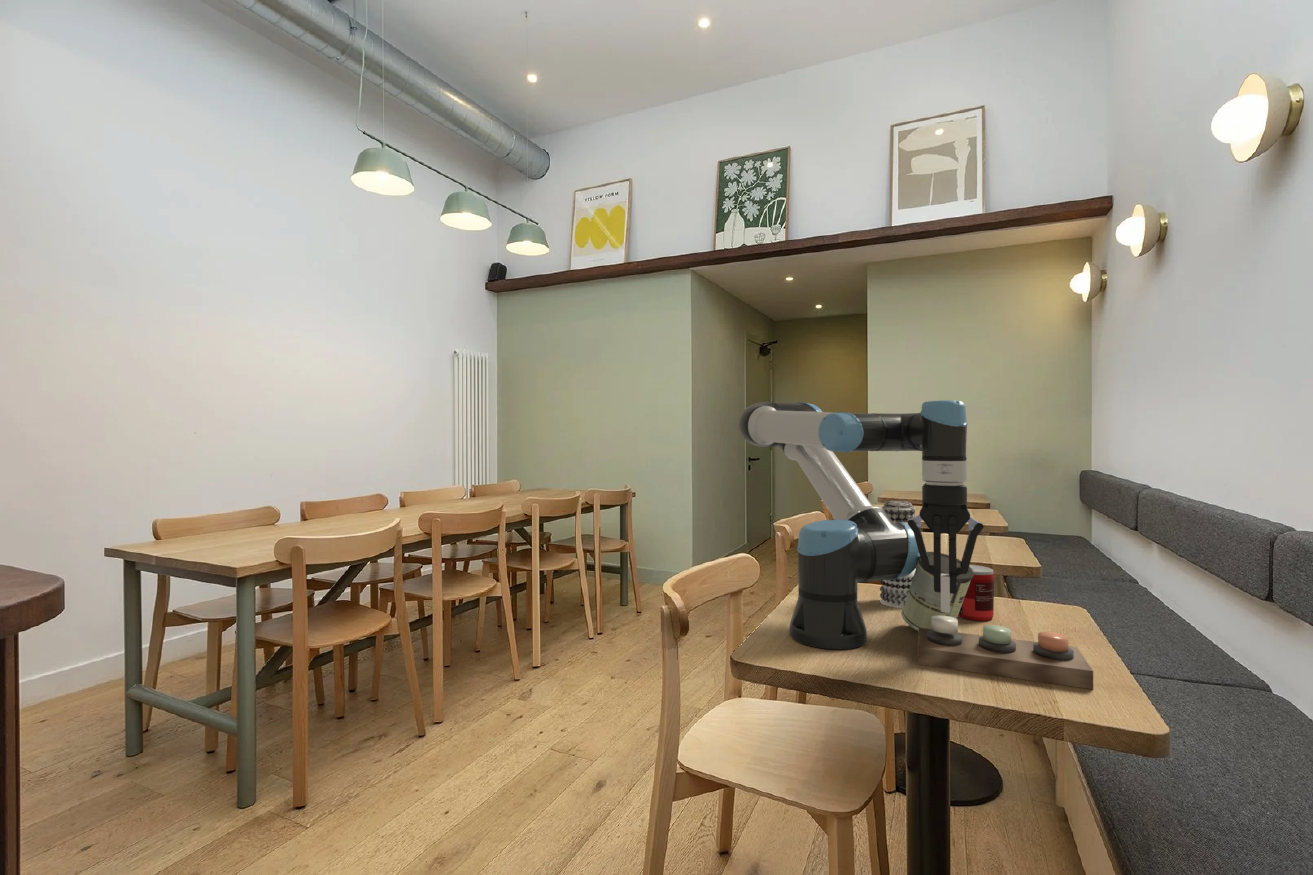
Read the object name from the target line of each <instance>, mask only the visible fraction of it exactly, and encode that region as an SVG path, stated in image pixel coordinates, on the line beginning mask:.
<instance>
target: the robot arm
mask: <svg viewBox="0 0 1313 875" xmlns="http://www.w3.org/2000/svg"><path fill="white" fill-rule="evenodd" d="M966 409H967V408H966V405H965V403H964V402H963V401H961V400H954V399H953V400H951V399H947V400H946V399H945V400H942V399H941V400H928V401H924V402H923V403H922V404H921V410H920V412H915V413H914V412H910V413H888V412H887V413H882V412H881V413H878V412H877V413H870V412H869V413H867V412H866V413H865V412H864V413H863V412H861V413H860V412H845V411H844V412H843V411H842V412H841V411H840V412H835V411H834V412H833V411H831V412H829V411H822V409H820V407H819V406H817V405H816V404H812V403H808V402H802V401H798V402H779V401H778V402H777V401H775V402H774V401H770V402H769V401H768V402H767V401H762V402H756V403H752V404H751V405H749V406H747V407H746V408H744V409H743V411H742V412H741V413H740V416H739V417H738V423H737V424H738V425H737V426H738V432H739V434H740V436H741V437H742V439H743V440H744V441H745V442H747V444H750V445H753V446H756V447H759V448H760V447H761V448H764V447H765V448H766V447H767V448H781V450H782V452H783V453H784V454H785V457H787V459H788V460H791V461H796V462H797V464H798V465H799V466H800V468H801V470H802V472H803V473H804V474H805V476H806V477H807V479H808V480H809V482H810V483H811V485H812V487H813V488H814V490H815V491H816V492H817V494H818V496H819V497H820V499H821V500H822V502H823V503H824V505H825V506H826V508H827V510H828V511H829V512H830V514H831V516H832V517H833V519H830V520H829V519H824V520H817V521H812V522H810V523H807V524H805V525H804V526H802V527H801V528H800V531H798V538H797V539H798V541H797V547H796V550H797V553H798V554H797V559H798V560H797V564H798V568H797V571H798V575H797V576H798V578H797V580H798V582H797V586H798V589H797V590H798V596H797V601H796V603H795V607H794V610H793V613H792V616H791V619H790V622H789V635H790V637H791V638H792V639H793V640H795V641H796V642H798V643H801V644H803V645H805V646H809V647H814V648H820V649H826V650H850V649H855V648H859V647H861V646H862V647H863V646H864V645H865V644H866V643H867V641H868V640H867V639H868V634H867V633H868V631H867V627H866V626H867V625H866V624H865V621H864V618H863V615H862V612H861V608H860V605H859V601H858V584H859V583H860V584H861V583H868V582H869V583H870V582H878V581H879V582H880V581H881V580H888V579H889V580H895V579H897V578H901V577H905V576H907V575H909V574H911V573H912V572H913V571H914V569H916V567H917V564H918V561H919V556H920V558H921V562H922V566H923V569H924V570H925V571H928V572H931V573H932V574H933V576H934V591H935V592H940V593H941V612H948V613H950V593H951V594H956V592H957V576H958V575H961V574H966V573H967V572H968V568H969V565H971V560H972V556H973V554H974V550H975V546H976V543H977V538H978V536H979V534H980V533H981V532H982V531H983V529H984V526H985V525H984V524H983V522H981V521H978V520H976V519H975V518H973V517H972V516H971V513H970V511H969V508H968V486H966V485H965V484H964V483H966V482H967V481H968V479H967V478H968V465H967V464H968V462H967V461H968V460H967V459H968V458H967V436H968V435H967V433H968V432H967V431H968V421H967V420H968V418H967V410H966ZM905 451H906V452H921V476H922V479H921V480H922V482H925V483H923V485H922V487H921V492H922V493H921V496H922V499H921V503H922V504H921V505H922V506H921V507H920V508H921V509H920V510H919V514H918V515H915V517H914V518H910V519H909V520H908V525H909V526H908V525H907V524H904V523H900V522H896V523H894V522H893V521H892V520H891V518H890V517H889V516H888V515H887V513H886V512H885V511H884V510H883V509H882V508H881V507H880V506H879V507H878V506H873V505H872V503H871V501H869V499H868V497H867V496H866V494H864V492H863V491H862V489H861V488H860V487H859V486H858V484H857V483H856V481H855V480H854V478H853V477H852V476H851V474H850V473H849V472H848V470H847V469H846V467H845V466H844V465H843V463H842V462H841V461H840V460H839V458H838V457H837V455H836V454H835V453H834V452H837V453H849V452H850V453H851V452H905ZM922 521H923V522H924V523H925V525H926V526H927V527H928V529H929V530H930V531H931V532H932V533H933V552H934V565H931V564H930V563H929V559H928V555H927V552H928V551H927V549H926V545H925V541H924V536H923V532H922V530H921V527H922V524H923V523H922ZM967 523H968V525H967V528H968V530H969V533H968V536H967V539H966V542H965V546H964V551H963V554H962V558H961V560H960V561H961V564H960V566H959V567H957V562H956V558H957V534H959V533H960V531H961V530H962V529H963V528H964V526H966V524H967ZM942 534H947V535H948V555H949V574H941V553H942V549H941V548H942V546H941V545H942V542H941V540H942V538H941V537H942V536H941V535H942Z"/></svg>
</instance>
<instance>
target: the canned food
mask: <svg viewBox="0 0 1313 875" xmlns="http://www.w3.org/2000/svg"><path fill="white" fill-rule="evenodd" d="M969 567H970V568H971V569H972V570H973V573H974V576H973V578H972V579H971V581H970V584H969V587H968V589H967V592H966V595H965V598H964V600H963V603H962V606H961V608H960V611H959V614H958V617H959V618H962V619H965V620H969V621H975V622H989V621H992V620H993V618H994V614H995V613H994V612H995V611H994V610H995V609H994V604H995V601H994V597H995V595H994V592H995V588H994V587H995V583H994V582H995V581H994V578H995V577H994V575H995V573H994V570H993V569H992V567H991V568H990V567H987V566H984V565H983V566H982V565H978V564H977V565H975V564H970V565H969Z"/></svg>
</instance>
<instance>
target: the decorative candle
mask: <svg viewBox="0 0 1313 875" xmlns="http://www.w3.org/2000/svg"><path fill="white" fill-rule="evenodd" d="M880 508H882V509H883V510H884V511H885V512H886V513H887V515H888V516H889V517H890V518H891V520H892V521H893V522H894V523H896V522H900V523H904V524H907V525H908V520H909V519H910V518H914V517H916V510H917V508H915V507H914V505H913V504H912V503H911V502H910V501H904V500H888V501H886V502H885V503H884V505H883V506H881V507H880ZM908 526H909V525H908ZM915 570H916V568H915V569H914V571H913V572H912V573H911V574H909V575H907V576H905V577H901V578H897V579H895V580H889V579H888V580H879V583H880V584H881V586H880V588H879V591H880V594H879V596H880V598H881V599H880V600H879V601H880V603H882V604H881V605H884V606H886V607H889V608H894V609H903V607H904V604H905V601H906V598H907V595H908V592H909V589H910V586H911V583H912V580H913V577H914V573H915Z"/></svg>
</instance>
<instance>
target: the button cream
mask: <svg viewBox="0 0 1313 875" xmlns="http://www.w3.org/2000/svg"><path fill="white" fill-rule="evenodd" d="M931 624H932V630H934V631H937V632H940V633H947V634H953V633H957V632H958V633H959V630H958V629H959V620H958V618H957V619H956V618H953V617H949V616H942V615H936V616H932V617H931Z"/></svg>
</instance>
